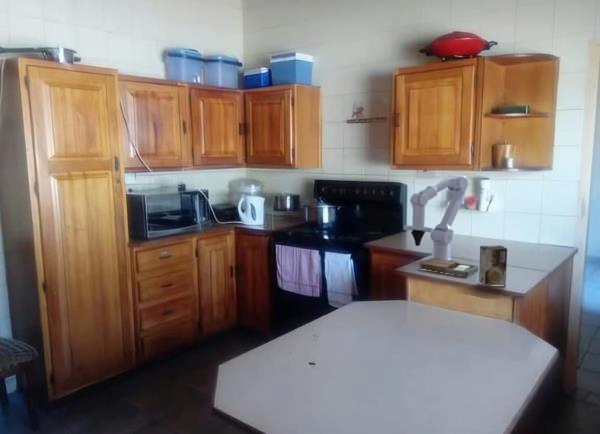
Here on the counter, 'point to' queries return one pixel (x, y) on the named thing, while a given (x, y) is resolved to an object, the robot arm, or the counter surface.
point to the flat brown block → (438, 265)
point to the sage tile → (460, 269)
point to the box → (463, 273)
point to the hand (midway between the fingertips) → (417, 245)
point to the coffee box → (492, 265)
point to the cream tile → (464, 267)
